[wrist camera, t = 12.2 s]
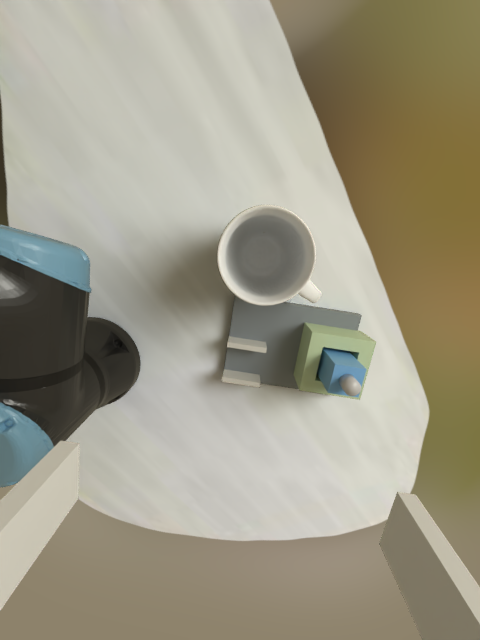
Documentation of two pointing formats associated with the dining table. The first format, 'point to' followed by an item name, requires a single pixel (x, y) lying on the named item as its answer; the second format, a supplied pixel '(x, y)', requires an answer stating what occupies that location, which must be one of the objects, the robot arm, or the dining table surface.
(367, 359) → the port
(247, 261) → the mug
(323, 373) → the plug
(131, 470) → the dining table surface
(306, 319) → the panel
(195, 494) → the dining table surface
